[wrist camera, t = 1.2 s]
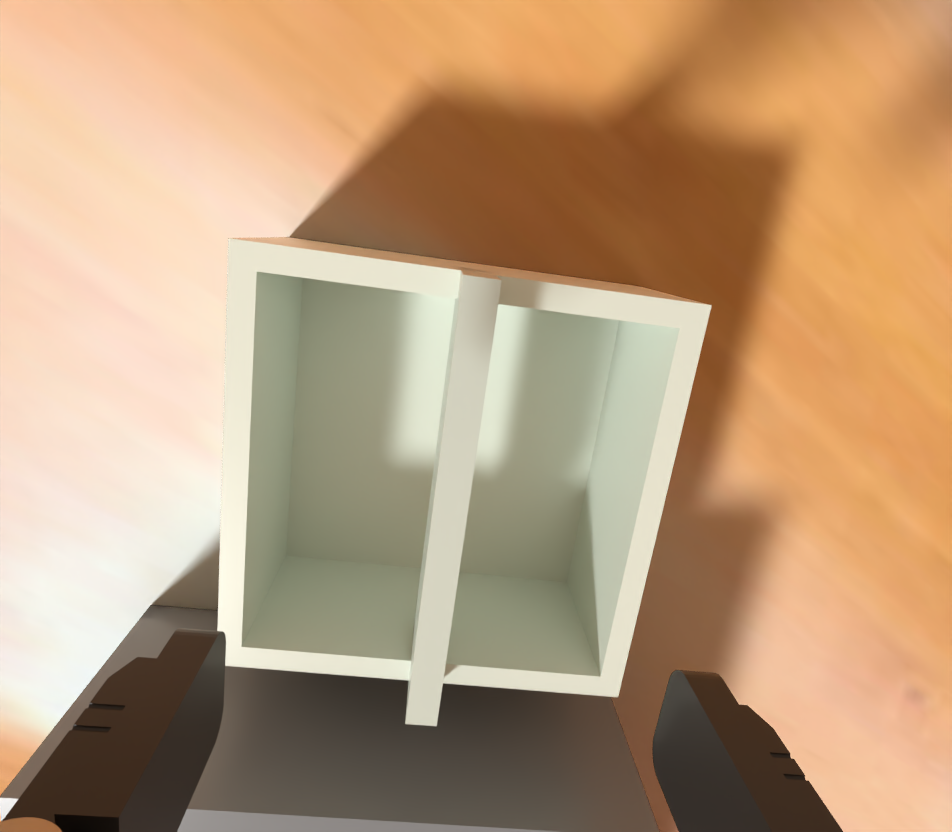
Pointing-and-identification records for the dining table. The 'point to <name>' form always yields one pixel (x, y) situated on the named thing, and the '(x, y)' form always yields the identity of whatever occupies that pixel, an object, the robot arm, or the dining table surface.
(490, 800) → the big crate
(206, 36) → the dining table surface
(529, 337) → the small crate
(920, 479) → the dining table surface
